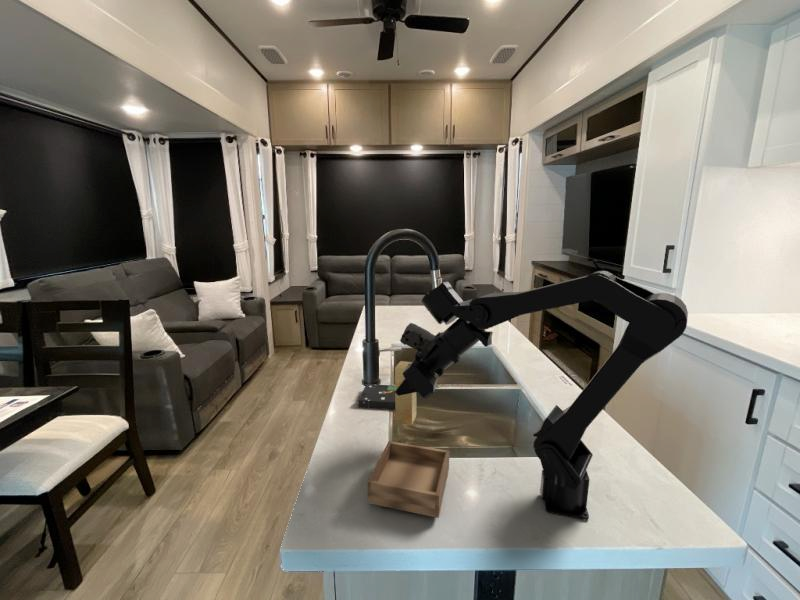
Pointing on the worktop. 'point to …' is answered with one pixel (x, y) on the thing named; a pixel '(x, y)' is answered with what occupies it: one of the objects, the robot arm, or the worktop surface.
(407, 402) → the brass bar
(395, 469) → the wooden storage tray
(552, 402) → the worktop surface
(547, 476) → the robot arm
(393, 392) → the disk drive
